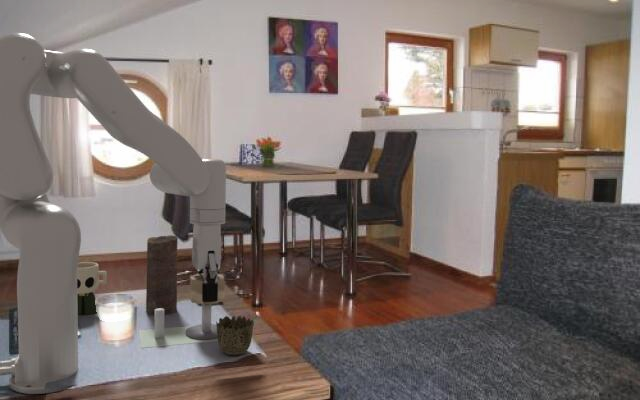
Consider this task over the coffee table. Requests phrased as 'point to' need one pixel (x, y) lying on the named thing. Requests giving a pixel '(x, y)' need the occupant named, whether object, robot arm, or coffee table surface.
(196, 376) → the coffee table surface
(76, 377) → the coffee table surface
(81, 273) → the character mug
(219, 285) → the collar
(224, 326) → the fiber plant pot
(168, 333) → the hub board
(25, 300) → the robot arm
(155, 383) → the coffee table surface
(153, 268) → the brown log
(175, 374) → the coffee table surface
